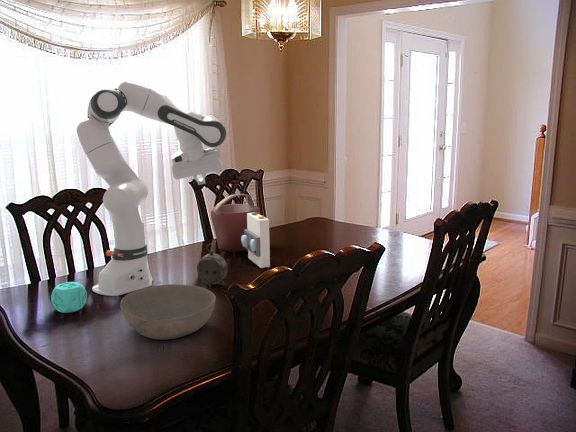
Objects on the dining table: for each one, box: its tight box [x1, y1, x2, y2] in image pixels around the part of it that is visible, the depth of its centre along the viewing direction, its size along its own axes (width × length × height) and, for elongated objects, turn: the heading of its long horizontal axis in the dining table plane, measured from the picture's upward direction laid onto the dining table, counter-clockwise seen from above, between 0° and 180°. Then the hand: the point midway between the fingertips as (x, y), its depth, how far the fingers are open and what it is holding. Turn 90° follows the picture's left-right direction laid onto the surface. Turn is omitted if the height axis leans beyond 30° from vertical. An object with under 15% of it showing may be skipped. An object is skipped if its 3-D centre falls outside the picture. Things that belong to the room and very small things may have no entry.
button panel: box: [244, 212, 271, 269], centre depth 220 cm, size 6×16×21 cm, turn 23°
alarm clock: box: [196, 243, 229, 288], centre depth 193 cm, size 11×5×16 cm, turn 74°
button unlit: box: [241, 235, 249, 247], centre depth 223 cm, size 2×5×5 cm, turn 23°
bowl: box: [119, 283, 217, 341], centre depth 156 cm, size 28×28×10 cm
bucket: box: [210, 193, 261, 253], centre depth 245 cm, size 24×22×25 cm
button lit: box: [250, 239, 256, 251], centre depth 216 cm, size 2×5×5 cm, turn 23°
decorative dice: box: [50, 281, 88, 314], centre depth 174 cm, size 8×8×8 cm
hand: (201, 183), depth 215 cm, fingers closed
